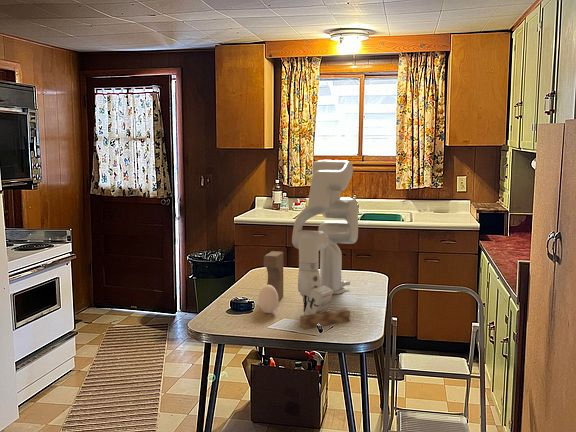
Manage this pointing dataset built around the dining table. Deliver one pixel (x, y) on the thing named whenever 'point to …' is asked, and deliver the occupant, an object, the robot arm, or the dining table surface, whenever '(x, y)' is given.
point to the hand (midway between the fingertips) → (308, 312)
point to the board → (324, 318)
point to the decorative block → (275, 270)
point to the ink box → (318, 300)
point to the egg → (268, 299)
